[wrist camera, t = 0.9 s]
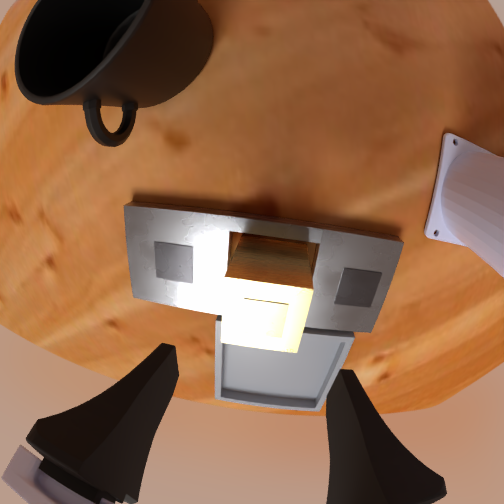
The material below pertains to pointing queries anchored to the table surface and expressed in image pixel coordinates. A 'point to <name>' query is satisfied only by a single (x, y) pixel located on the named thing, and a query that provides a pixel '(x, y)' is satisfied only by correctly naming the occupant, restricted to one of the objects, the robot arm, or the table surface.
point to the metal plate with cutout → (219, 251)
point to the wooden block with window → (266, 294)
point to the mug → (111, 56)
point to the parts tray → (281, 370)
